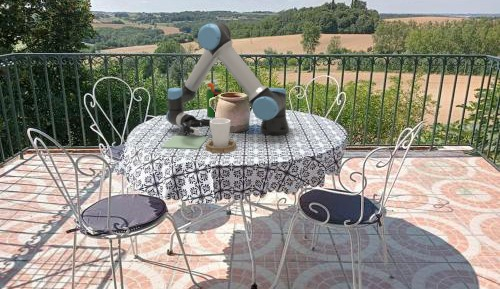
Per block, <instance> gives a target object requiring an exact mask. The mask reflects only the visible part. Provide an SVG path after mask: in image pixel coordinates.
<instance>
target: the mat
mask: <svg viewBox="0 0 500 289" xmlns="http://www.w3.org/2000/svg"><path fill="white" fill-rule="evenodd" d="M208 139H209V136H199V135H194V136H193V135H173V136H172V137H171V138H170V139H168V141H166V142H165V143H164V144H163V145H162V146H161V149H179V150H180V149H182V150H199V149H200V148H201V147H202V146H203V145H204V143H205V142H206V141H207V140H208Z"/></svg>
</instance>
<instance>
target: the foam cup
mask: <svg viewBox="0 0 500 289" xmlns="http://www.w3.org/2000/svg"><path fill="white" fill-rule="evenodd" d="M209 120H210V126H209V127H210V133H211V137H212V138H211V139H212V140H213V144H214V145H213V147H222V148H223V147H227V146H229V145H228V142H229V140H230V133H231V132H230V130H231V119H228V118H221V117H220V118H212V119H209Z"/></svg>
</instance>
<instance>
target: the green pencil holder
mask: <svg viewBox="0 0 500 289" xmlns="http://www.w3.org/2000/svg"><path fill="white" fill-rule="evenodd" d="M207 88H210V89H207V90H205V91H206V92H205V93H206V113H207V115H206V116H207V117H208V118H212V119H215V118H216V117H215V112H214V110H213V109H212V108H211V107H209V99H210V98H212V97H215V96H217V95H218V94H221V93H222V89H221V88H219V89H218V88H215V86H214V83H213V82H208V83H207Z"/></svg>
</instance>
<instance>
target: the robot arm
mask: <svg viewBox="0 0 500 289" xmlns="http://www.w3.org/2000/svg"><path fill="white" fill-rule="evenodd" d="M197 41H198V44H199V46H200V47H201V48H202V49H204V51H203V53H202V54H201V56H200V58H199V59H198V61H197V62H196V65H195V66H194V67H193V70H192V71H191V73H190V75H189V76H188V78H187V79H186V81H185V83H184V84H183V86H182V88H181V87H171V88H168V89H167V104H168V111H167V112H166V113H165V114H166V115H165V119H166V121H167V122H169V123H170V124H171V125H173V126H178V127H180V129H181V130H182V133H183V134H186V133H187V135H191V134H193V135H194V136H200V129H199V128H203V127H210V120H211V119H208V118H201V119H198V118H196V117H195V116H194V115H191V114H189V113H186V112H184V104H187V103H188V102H192V101H193V100H194V99H195V98H196V96H197V91H198V90H199V88H200V87H201V85H202V83H203V82H204V81H205V79H206V77H207V75H208V74H209V72H210V71H211V69H212V67H214V64H215V62H216V61H217V59H218V60H220V62H221V63H222V64H223V66H224V67H225V68H226V69H227V71H228V72H229V74H231V76H232V77H233V79H234V80H235V81H236V83H237V84H238V85H239V87H240V88H241V89H242V90H243V91H244V93H245V94H246V96H248V103H249V104H250V106H251V107H252V112H253V115H254V116H255V117H256V118H258V119H259V120H261V124H260V127H259V130H260V133H261V134H264V135H269V136H280V135H282V136H283V135H285V134H289V132H290V126H289V124H288V121H287V115H286V114H287V110H286V109H287V90H286V88H282V87H280V88H279V87H268V86H265V85H263V84H262V83H261V81H260V80H259V79H258V77H257V76H256V75H255V74H254V73H253V71H252V70H251V69H250V67H249V66H248V65H247V64H246V62H245V61H244V60H243V58H242V57H241V55H239V53H238V51H237V50H235V48H234V46H233V41H232V31H231V29H230V27H229V26H227V25H226V24H224V23H222V22H217V23H212V22H211V23H207V24H204V25H203V26H202V27H200V28H199V30H198V33H197Z"/></svg>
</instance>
